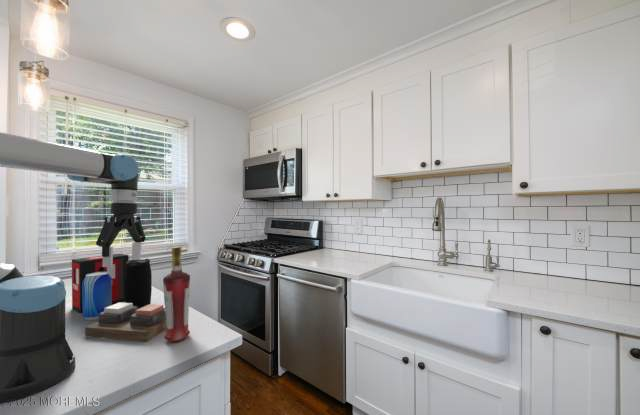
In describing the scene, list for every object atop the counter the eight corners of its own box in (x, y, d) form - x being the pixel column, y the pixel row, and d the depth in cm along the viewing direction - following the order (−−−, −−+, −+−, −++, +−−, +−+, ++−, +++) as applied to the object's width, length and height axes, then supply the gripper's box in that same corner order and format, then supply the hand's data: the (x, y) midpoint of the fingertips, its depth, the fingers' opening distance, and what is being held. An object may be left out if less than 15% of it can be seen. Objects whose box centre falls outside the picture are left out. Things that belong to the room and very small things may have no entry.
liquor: (162, 337, 83) (161, 247, 83) (188, 331, 87) (187, 245, 87) (165, 347, 77) (164, 250, 77) (192, 339, 81) (191, 247, 81)
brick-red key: (150, 317, 85) (150, 311, 85) (135, 316, 86) (135, 310, 86) (163, 310, 90) (163, 304, 90) (149, 310, 91) (149, 304, 91)
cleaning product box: (119, 297, 122) (119, 253, 122) (128, 300, 117) (128, 255, 117) (72, 309, 108) (71, 259, 108) (80, 313, 103) (80, 261, 103)
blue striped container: (101, 320, 96) (100, 276, 96) (76, 321, 95) (75, 277, 95) (117, 311, 104) (116, 270, 104) (94, 312, 104) (94, 271, 104)
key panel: (145, 342, 80) (145, 321, 80) (85, 336, 84) (85, 317, 84) (178, 322, 94) (178, 305, 94) (125, 318, 98) (124, 302, 98)
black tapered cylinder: (155, 304, 112) (154, 257, 112) (144, 312, 103) (144, 261, 103) (132, 305, 111) (132, 258, 111) (120, 314, 102) (119, 262, 102)
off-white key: (118, 315, 87) (118, 309, 87) (104, 314, 88) (104, 308, 88) (132, 308, 92) (132, 303, 92) (119, 308, 93) (119, 302, 93)
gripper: (106, 200, 82) (104, 270, 81) (156, 204, 107) (155, 257, 106) (82, 200, 82) (80, 270, 81) (137, 204, 107) (136, 257, 106)
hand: (122, 263), depth 94 cm, fingers open, 13 cm apart
